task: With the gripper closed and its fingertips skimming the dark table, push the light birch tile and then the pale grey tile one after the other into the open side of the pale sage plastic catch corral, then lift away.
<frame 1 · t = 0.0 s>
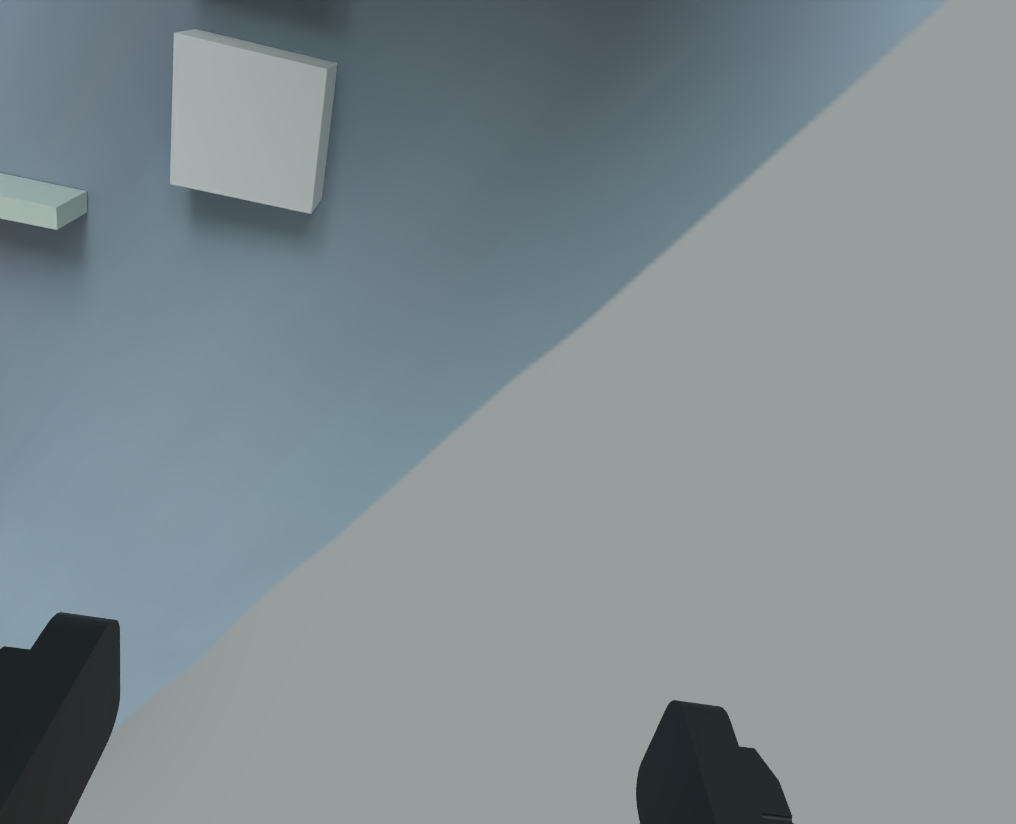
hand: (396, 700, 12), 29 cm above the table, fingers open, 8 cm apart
pale grey tile: (263, 117, 35), on the table
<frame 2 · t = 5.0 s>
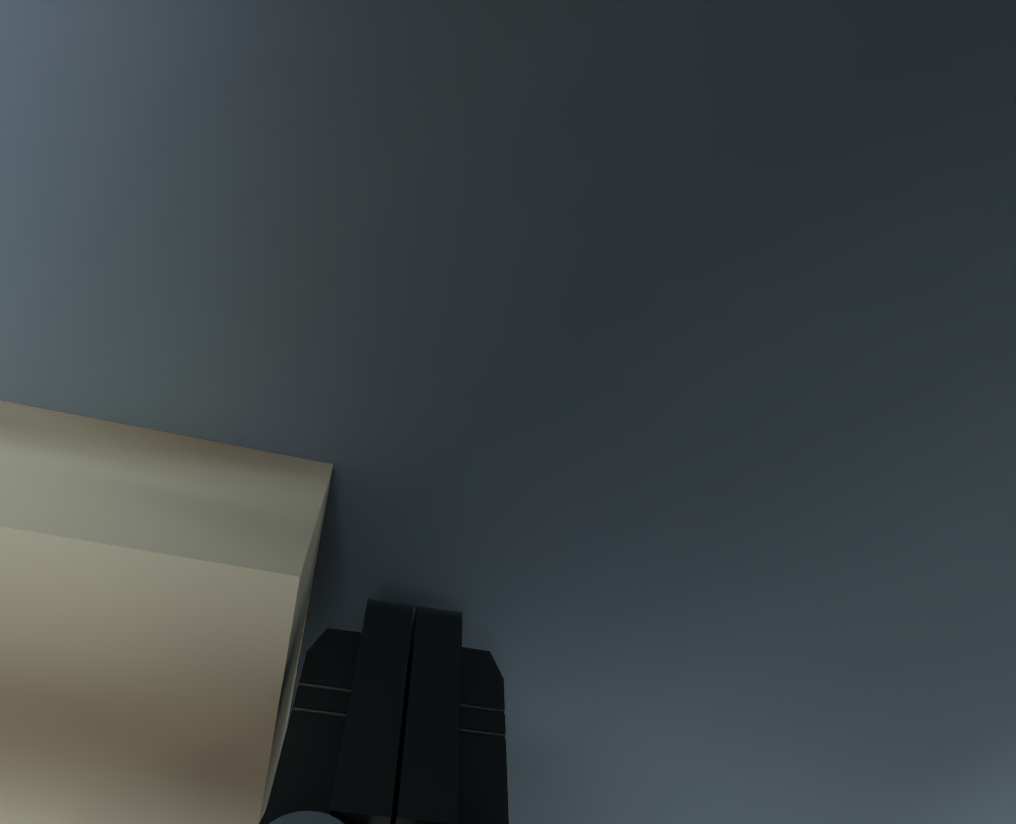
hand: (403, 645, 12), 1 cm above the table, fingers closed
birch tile: (134, 564, 13), on the table
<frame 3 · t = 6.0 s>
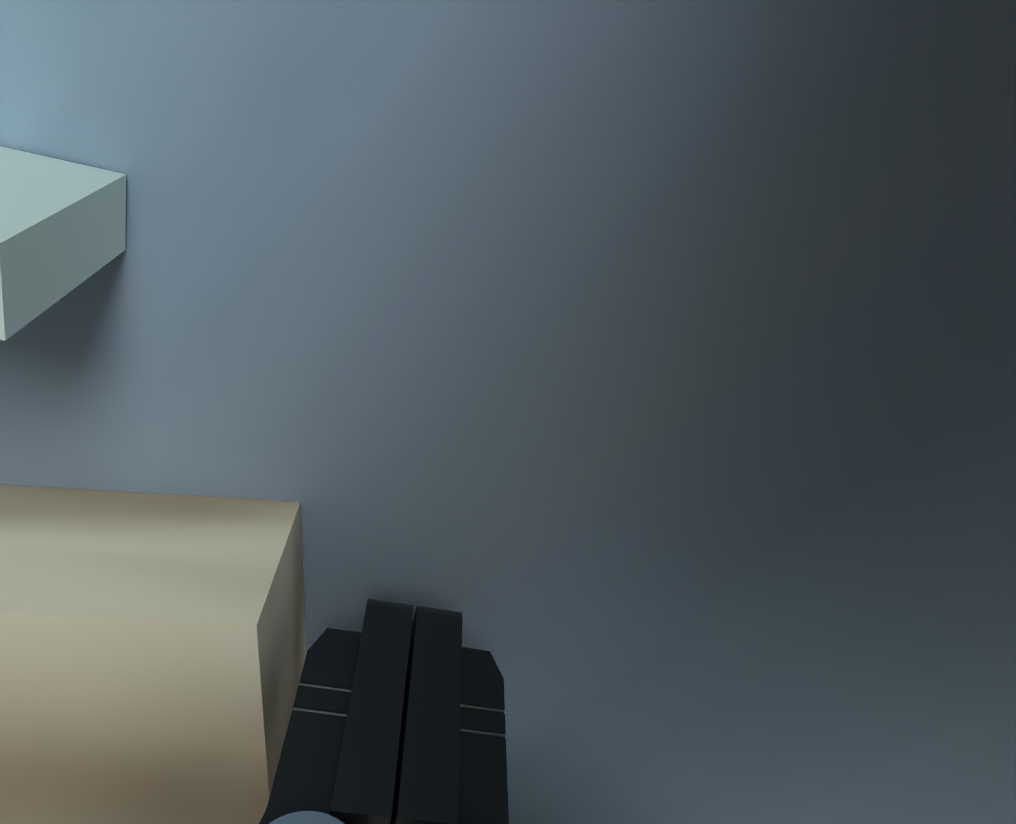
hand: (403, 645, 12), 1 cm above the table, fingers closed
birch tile: (135, 623, 14), on the table
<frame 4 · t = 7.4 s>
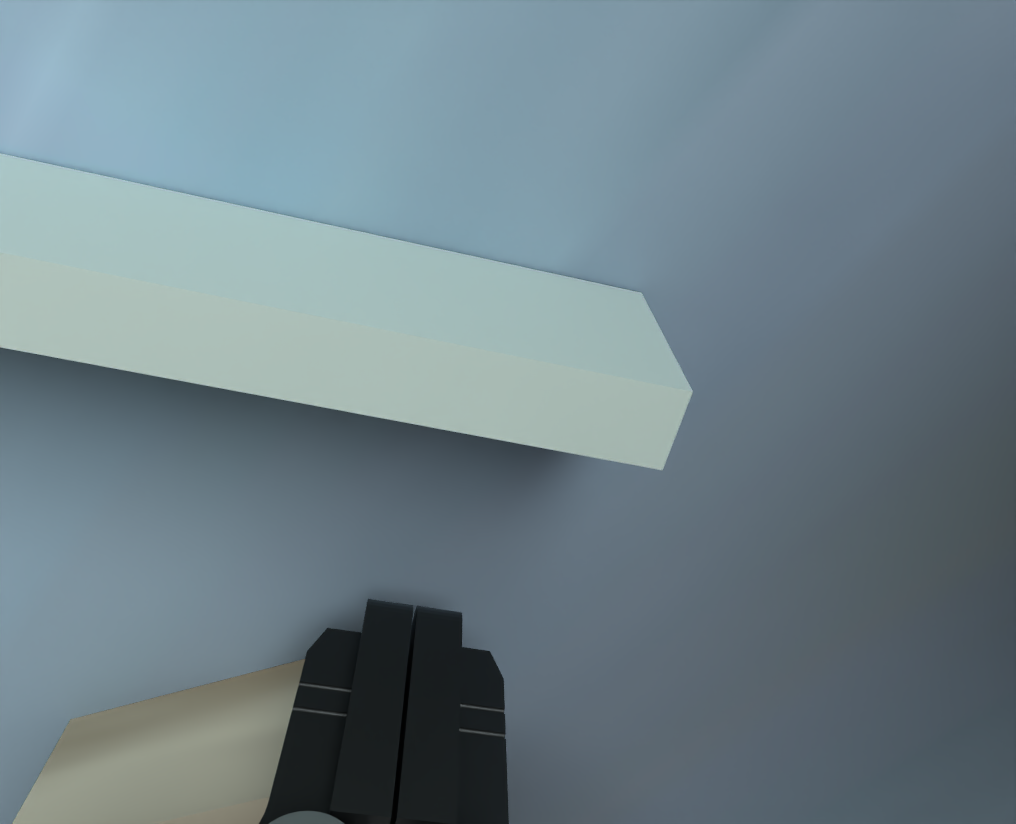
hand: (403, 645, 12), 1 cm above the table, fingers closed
catch corral: (30, 724, 15), on the table
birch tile: (292, 770, 16), on the table
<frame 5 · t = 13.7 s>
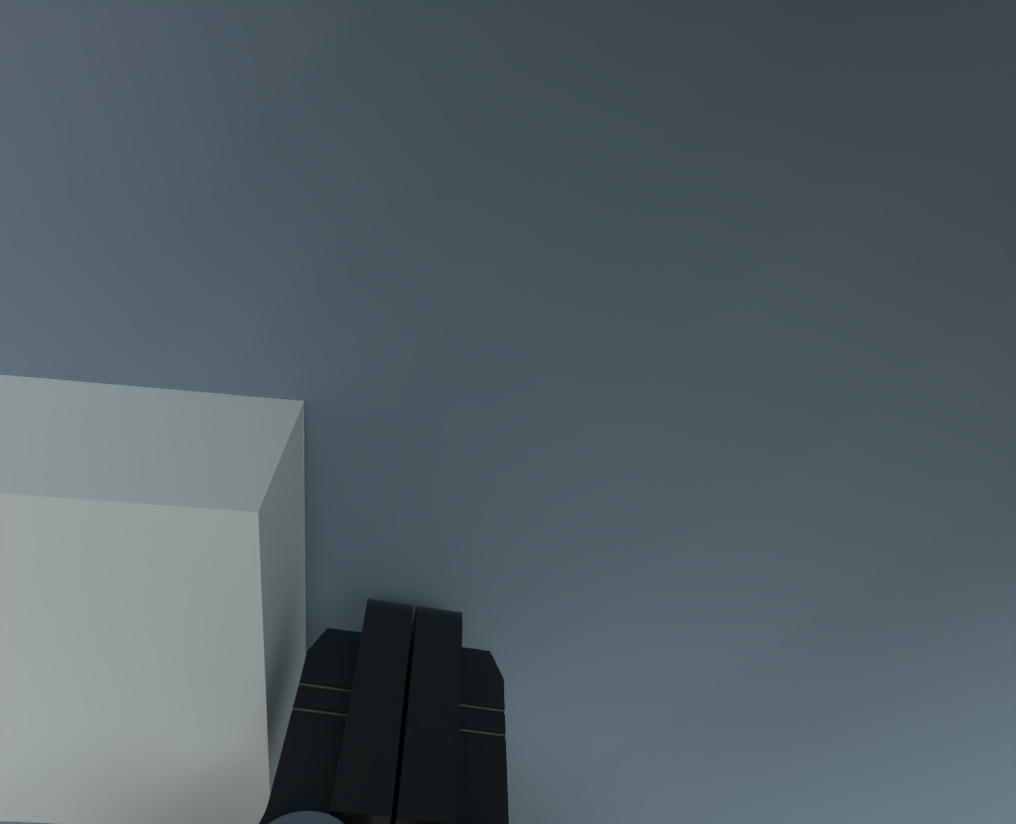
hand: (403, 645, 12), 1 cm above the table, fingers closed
pale grey tile: (123, 538, 13), on the table, touching gripper
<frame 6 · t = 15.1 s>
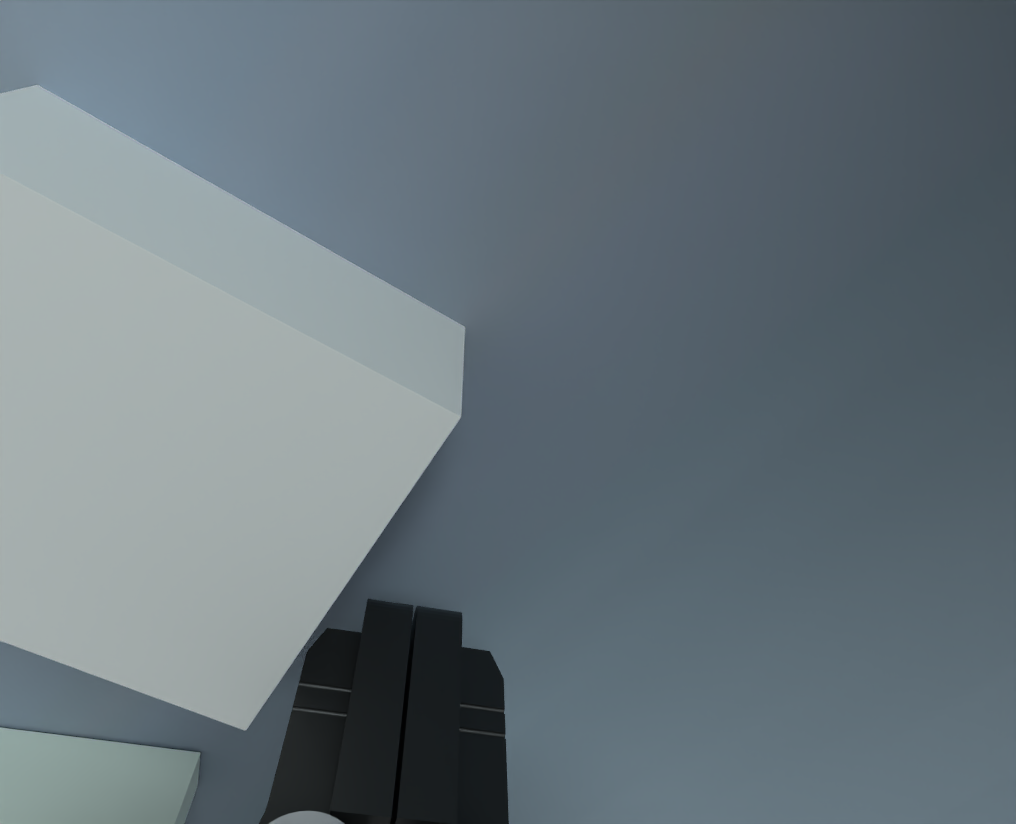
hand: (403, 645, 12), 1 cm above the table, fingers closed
pale grey tile: (191, 377, 12), on the table, touching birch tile
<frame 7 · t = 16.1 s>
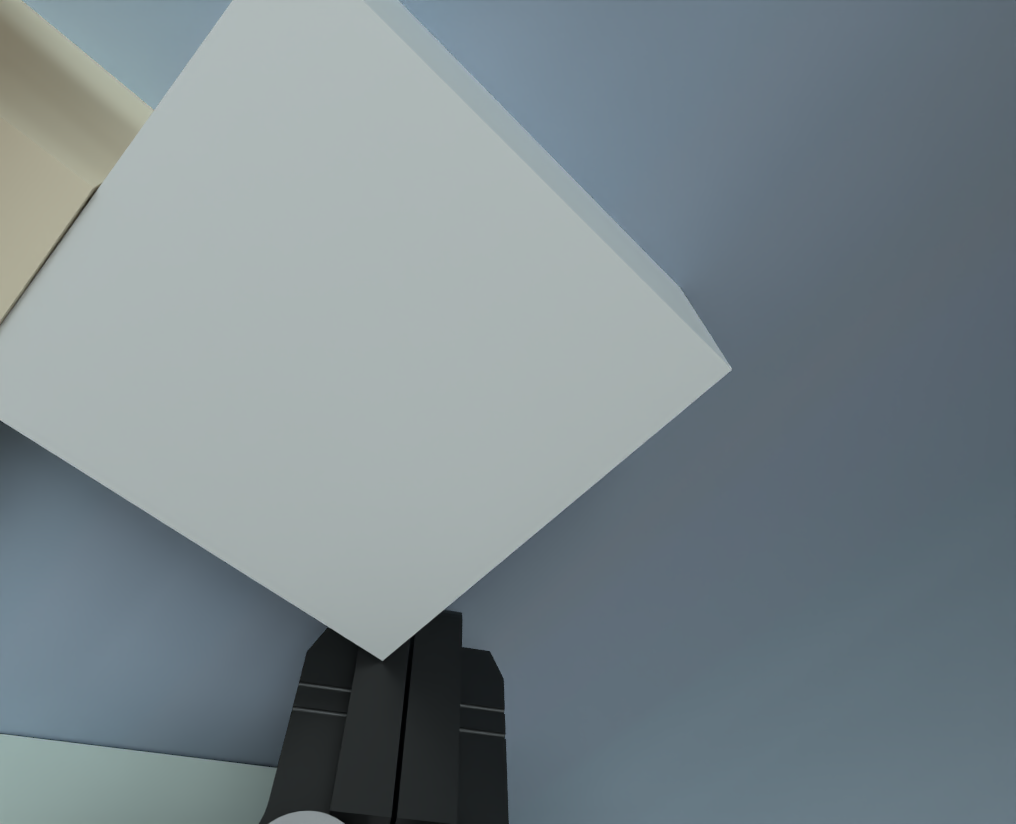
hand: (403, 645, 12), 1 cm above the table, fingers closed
pale grey tile: (378, 286, 11), on the table
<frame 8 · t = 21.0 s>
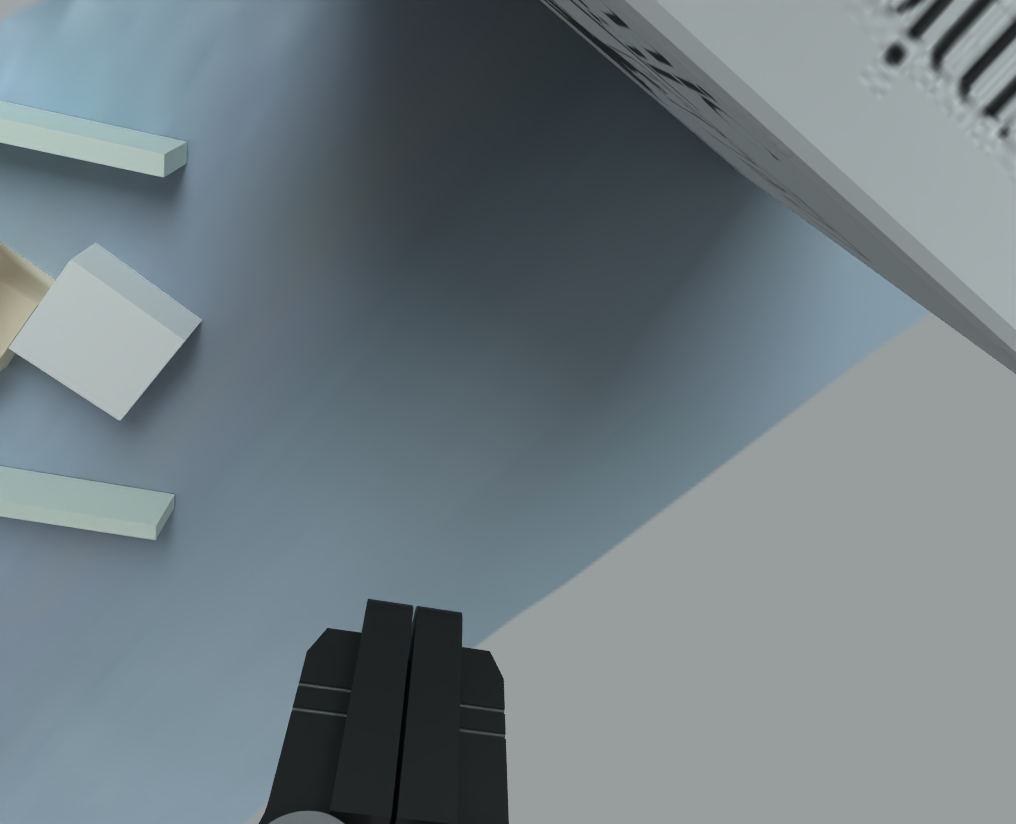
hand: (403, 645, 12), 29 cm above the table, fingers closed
pale grey tile: (121, 321, 41), on the table
catch corral: (7, 314, 40), on the table
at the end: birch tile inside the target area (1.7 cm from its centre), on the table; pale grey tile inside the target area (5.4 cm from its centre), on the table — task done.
